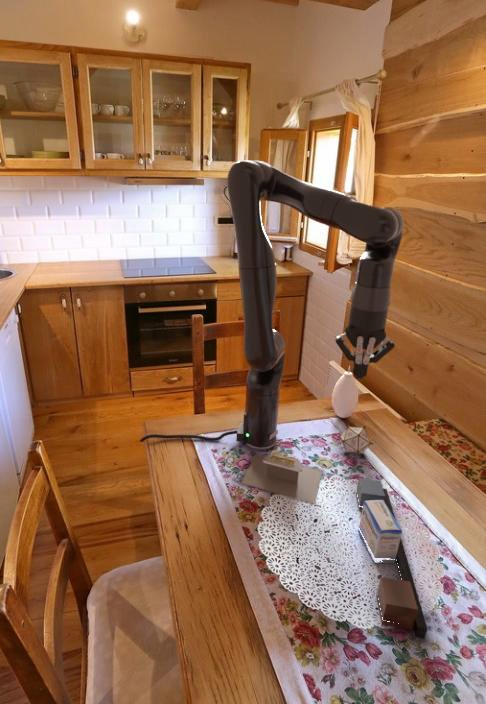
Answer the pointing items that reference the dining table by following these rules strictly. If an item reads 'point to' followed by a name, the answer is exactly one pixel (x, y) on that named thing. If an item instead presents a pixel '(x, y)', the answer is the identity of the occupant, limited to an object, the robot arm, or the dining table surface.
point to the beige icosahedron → (355, 440)
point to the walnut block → (396, 603)
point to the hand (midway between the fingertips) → (358, 377)
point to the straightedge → (408, 579)
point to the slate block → (369, 491)
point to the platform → (283, 477)
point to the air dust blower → (345, 395)
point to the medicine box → (380, 530)
